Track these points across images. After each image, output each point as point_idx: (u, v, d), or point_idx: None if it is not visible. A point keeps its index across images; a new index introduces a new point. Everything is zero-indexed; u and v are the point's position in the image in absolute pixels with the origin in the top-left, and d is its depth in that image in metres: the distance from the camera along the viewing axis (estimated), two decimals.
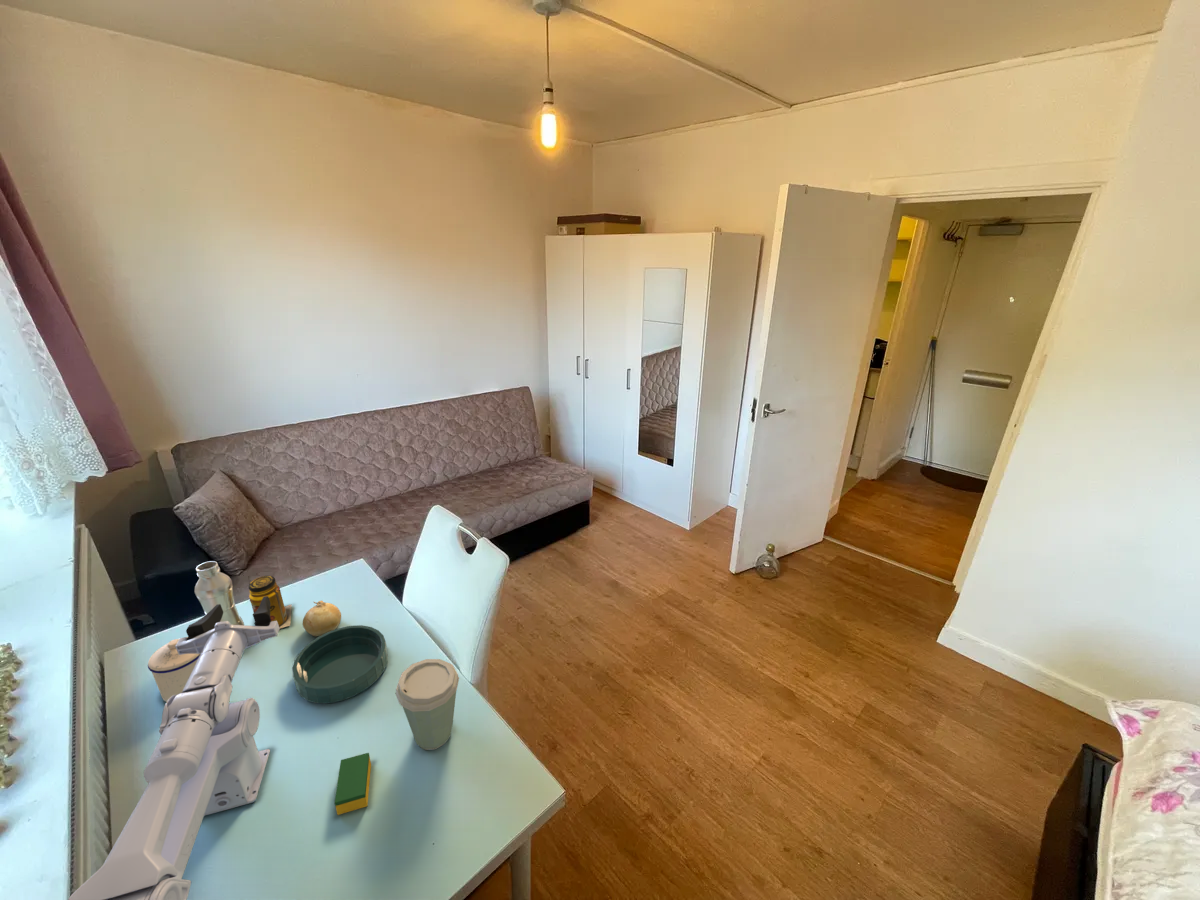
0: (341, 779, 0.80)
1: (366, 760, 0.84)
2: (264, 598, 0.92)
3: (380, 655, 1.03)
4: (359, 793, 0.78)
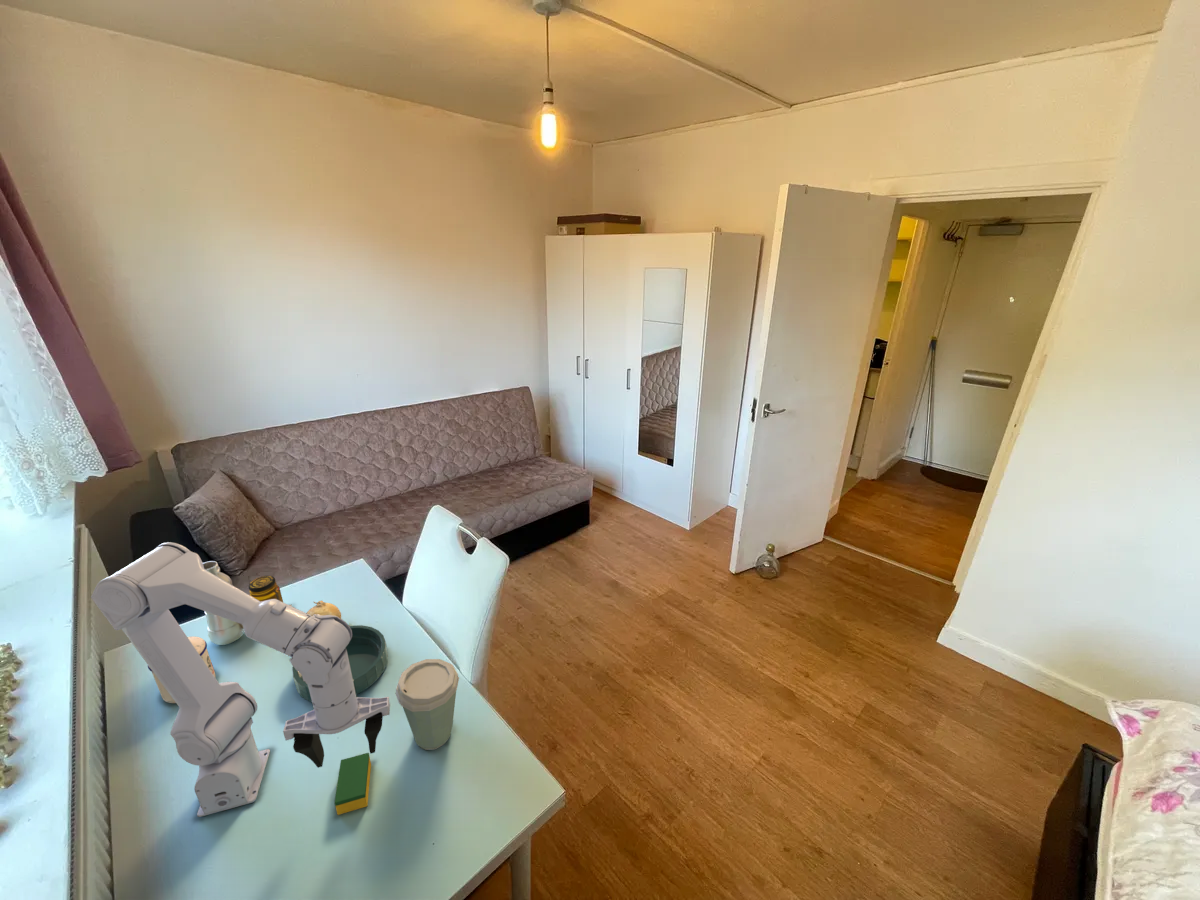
0: (341, 779, 0.80)
1: (366, 760, 0.84)
2: None
3: (380, 655, 1.03)
4: (359, 793, 0.78)
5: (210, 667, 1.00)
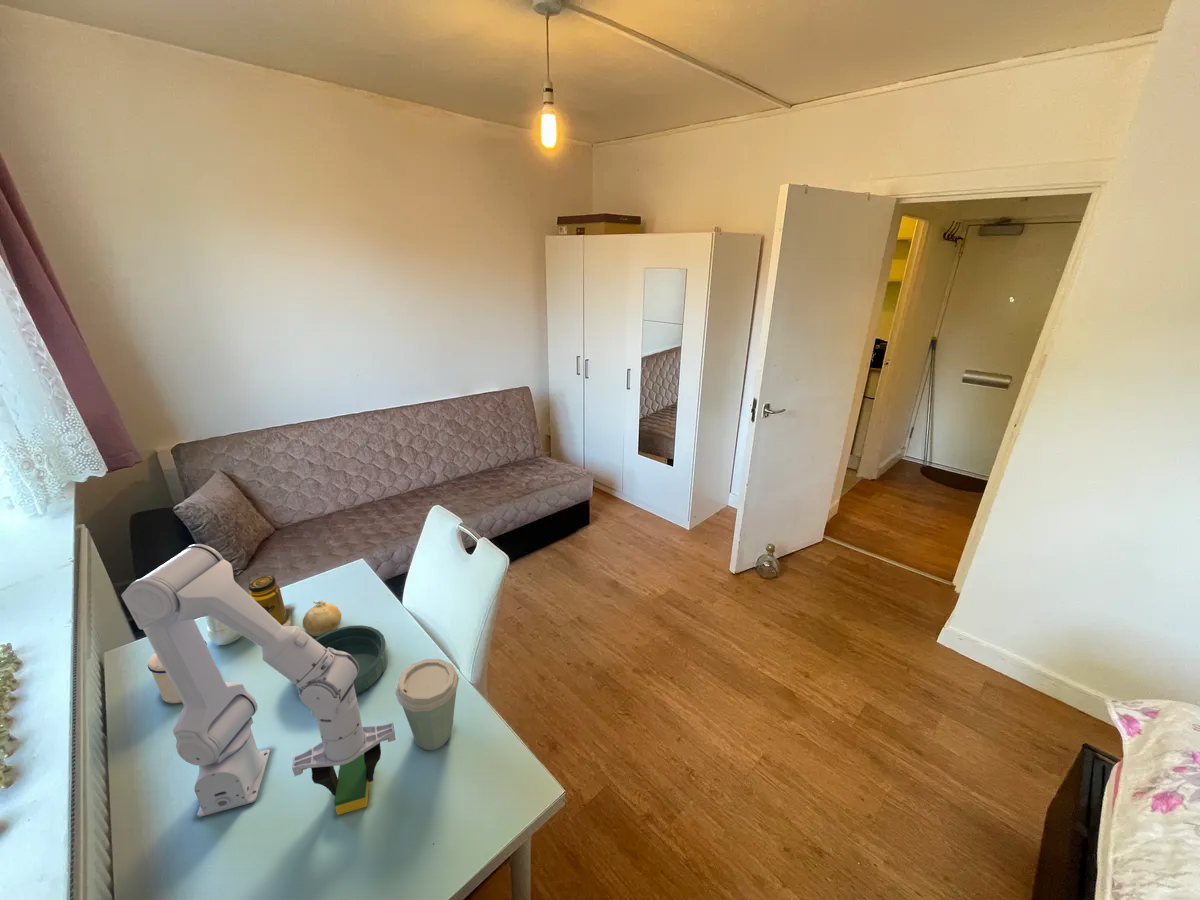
0: (341, 779, 0.80)
1: None
2: None
3: (380, 655, 1.03)
4: (359, 793, 0.78)
5: None
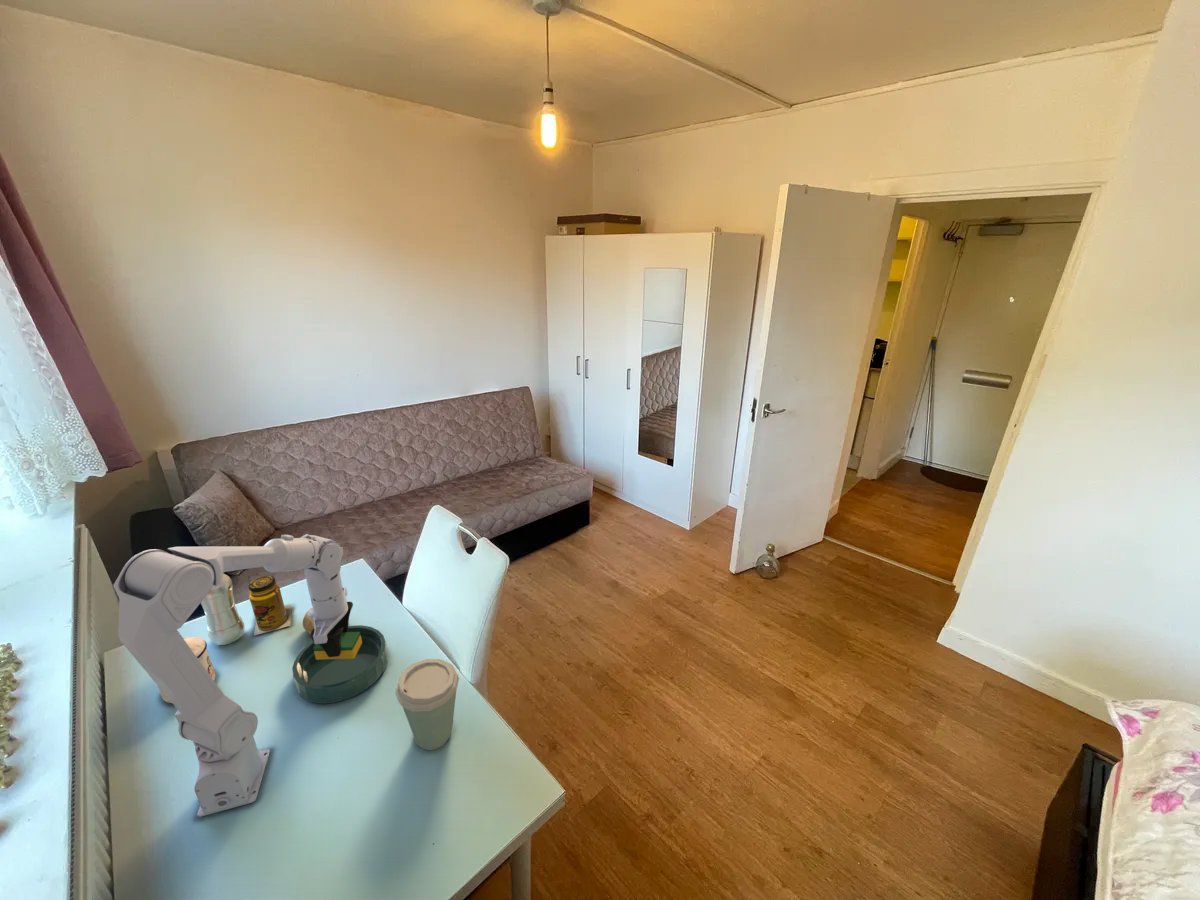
0: None
1: None
2: None
3: (380, 655, 1.03)
4: (356, 634, 1.02)
5: (210, 667, 1.00)
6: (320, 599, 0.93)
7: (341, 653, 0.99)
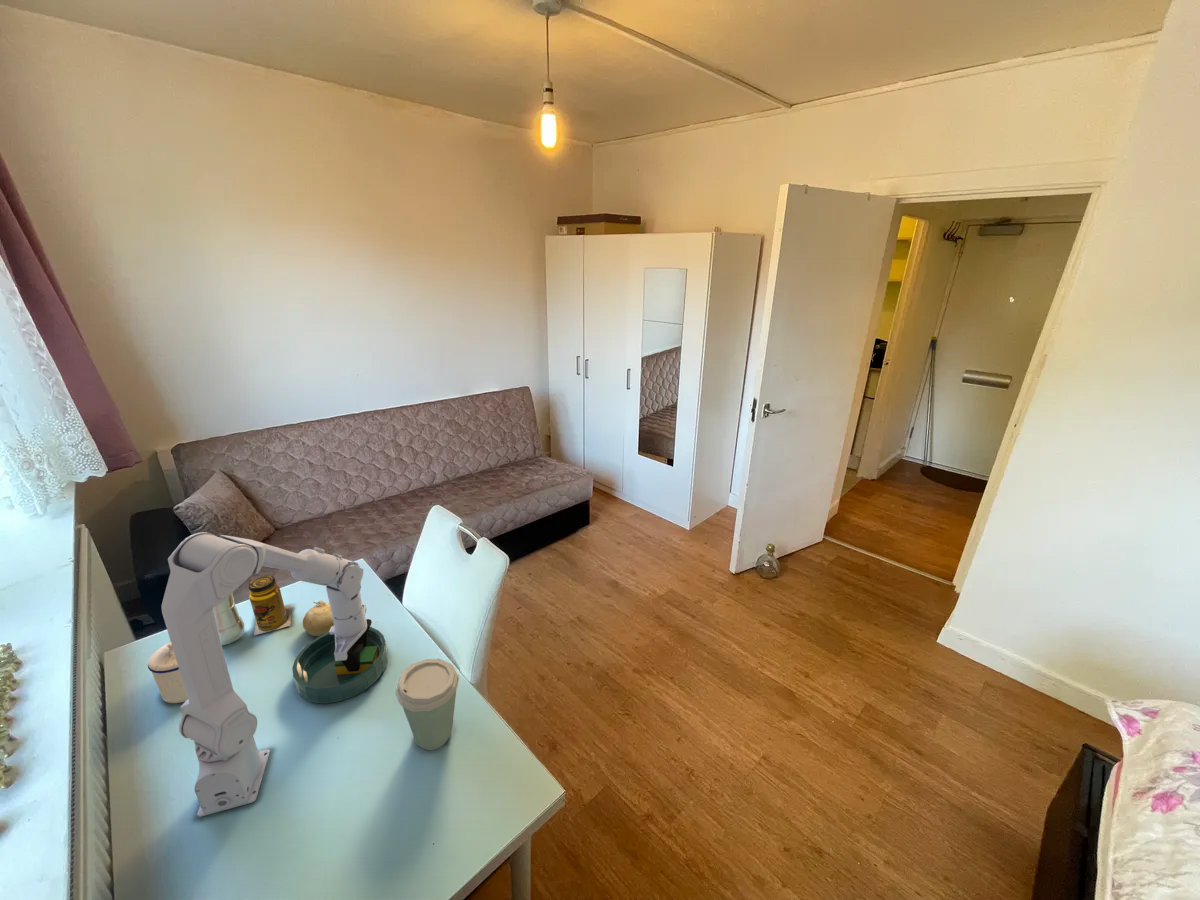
0: None
1: None
2: None
3: (380, 655, 1.03)
4: (375, 648, 1.06)
5: None
6: (341, 618, 0.97)
7: (362, 667, 1.03)
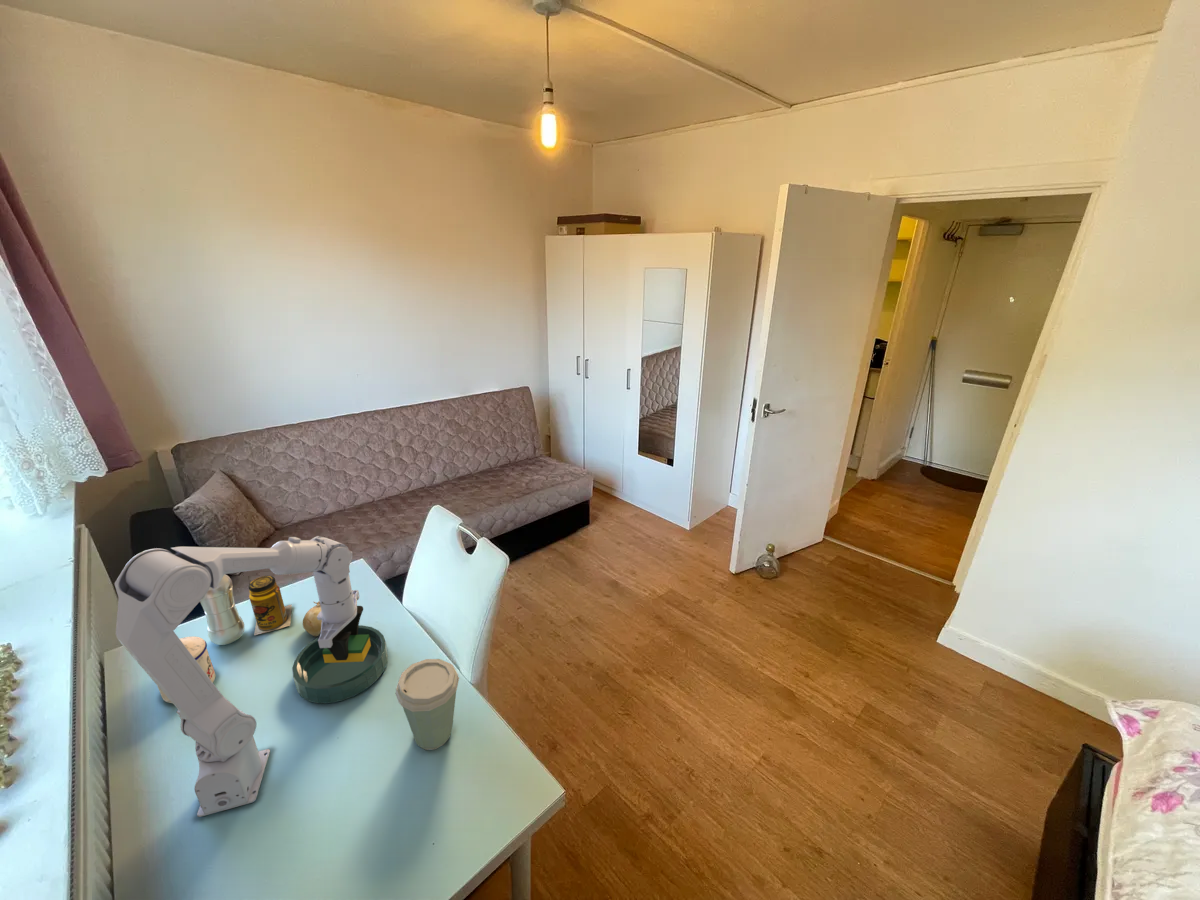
0: None
1: None
2: None
3: (380, 655, 1.03)
4: (365, 637, 1.01)
5: (210, 667, 1.00)
6: (328, 602, 0.92)
7: (350, 656, 0.98)
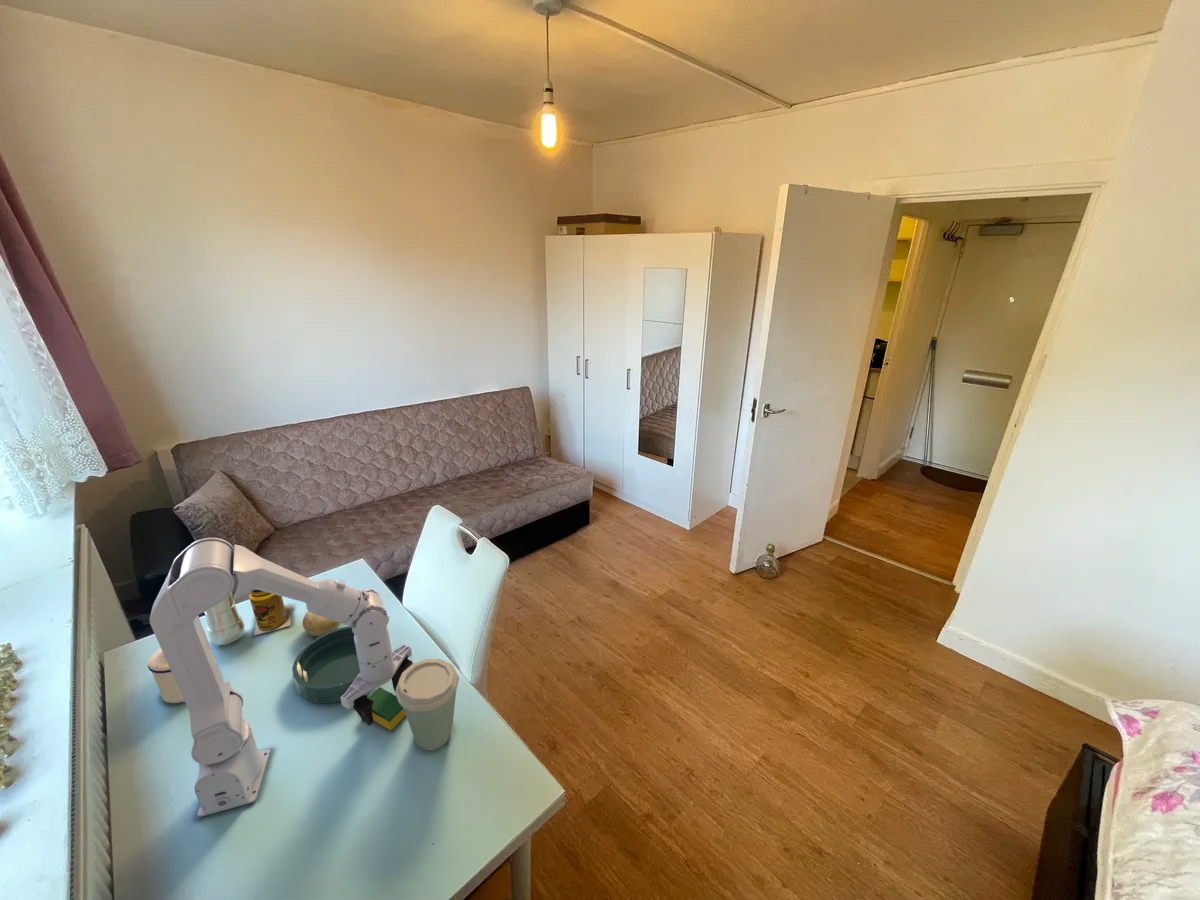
0: (377, 708, 0.93)
1: (383, 690, 0.97)
2: None
3: None
4: None
5: None
6: (360, 660, 0.87)
7: (381, 720, 0.93)
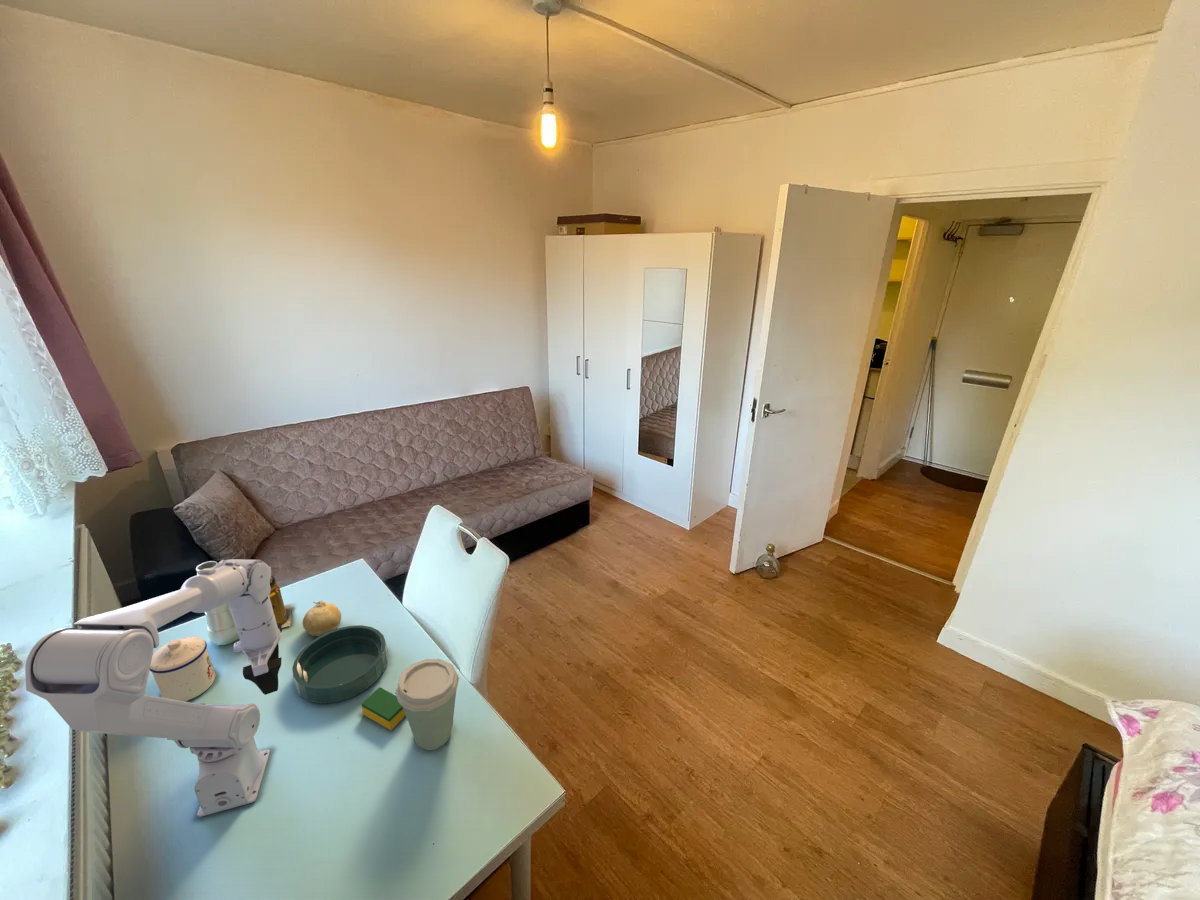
0: (377, 708, 0.93)
1: (383, 690, 0.97)
2: None
3: (380, 655, 1.03)
4: None
5: (210, 667, 1.00)
6: (252, 627, 0.84)
7: (381, 720, 0.93)
